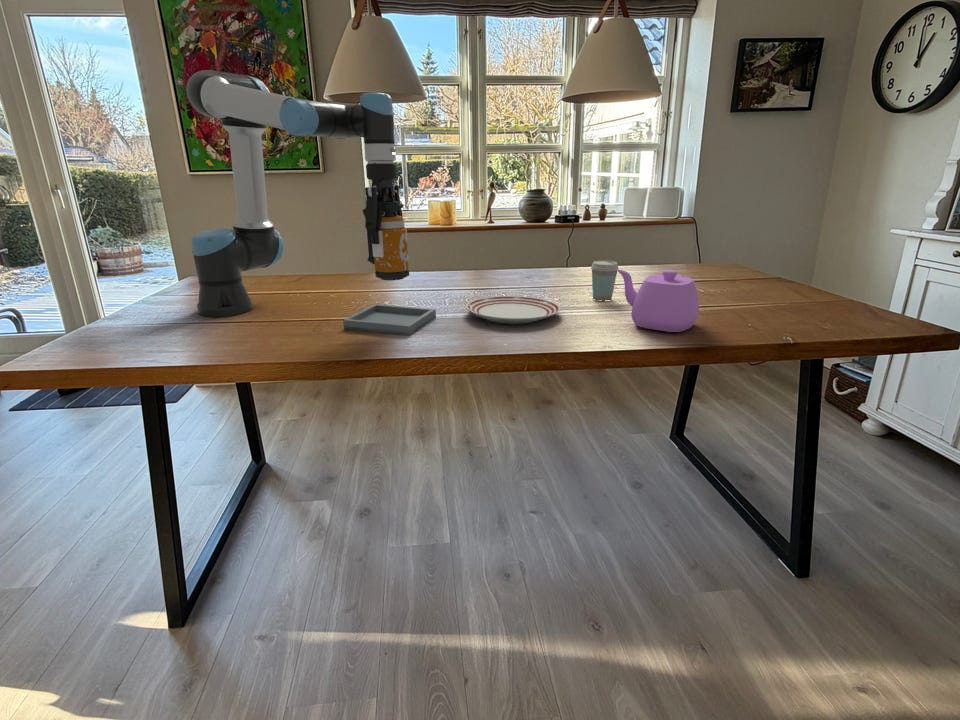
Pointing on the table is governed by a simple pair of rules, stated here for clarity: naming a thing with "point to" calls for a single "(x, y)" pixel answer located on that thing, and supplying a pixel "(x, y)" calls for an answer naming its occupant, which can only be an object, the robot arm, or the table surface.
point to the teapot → (663, 301)
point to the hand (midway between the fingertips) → (387, 253)
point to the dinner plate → (512, 309)
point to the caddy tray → (390, 319)
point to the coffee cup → (603, 279)
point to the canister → (391, 245)
